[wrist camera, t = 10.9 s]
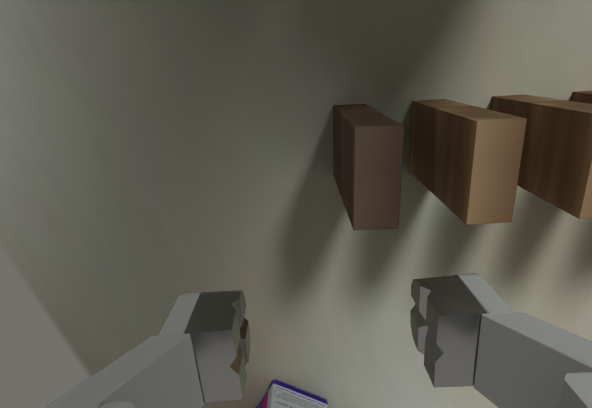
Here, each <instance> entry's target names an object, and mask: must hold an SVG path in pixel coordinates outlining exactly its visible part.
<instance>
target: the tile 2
mask: <svg viewBox="0 0 592 408" xmlns="http://www.w3.org/2000/svg"><path fill="white" fill-rule="evenodd" d="M526 122H527V119H526V118H522V117H518V116H514V115H509V114H505V113H501V112H496V111H492V110H488V109H484V108H479V107H475V106H471V105H467V104H462V103H458V102H454V101H450V100H445V99H440V100H422V101H412V116H411V137H410V158H409V172H410V173H411V174H412V175H414V176H415V177H416V178H417V179H418V180H419V181H420V182H421V183H422V184H423V185H424V186H425V187H427V188H428V189H429V190H430V191H431V192H432V193H433V194H434V195H435V196H436V197H437V198H438V199H439V200H441V201H442V202H443V203H444V204H445V205H446V206H447V207H448V208H449V209H450V210H451V211H452V212H453V213H455V214H456V215H457V216H458V217H459V218H460V219H461V220H462V221H463V222H464V223H465V224H466V225H468V224H487V223H506V222H512V216H513V209H514V203H515V196H516V189H517V182H518V176H519V169H520V162H521V155H522V149H523V142H524V135H525V128H526Z"/></svg>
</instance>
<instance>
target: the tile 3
mask: <svg viewBox="0 0 592 408" xmlns="http://www.w3.org/2000/svg"><path fill="white" fill-rule="evenodd" d="M491 110H492V111H496V112H501V113H505V114H509V115H514V116H518V117H522V118H526V119H527V122H526V128H525V135H524V142H523V149H522V155H521V162H520V169H519V176H518V182H517V185H518V186H520V187H522V188H523V189H525V190H527V191H529V192H531V193H533V194H535V195H536V196H538V197H540V198H542V199H544V200H546V201H547V202H549V203H551V204H553V205H555V206H557V207H558V208H560V209H562V210H564V211H566V212H568V213H569V214H571V215H573V216H575V217H577V218H579V219H587V218H592V104H589V103H581V102H574V101H567V100H559V99H552V98H545V97H537V96H530V95H511V96H493V97H492V104H491Z"/></svg>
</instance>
